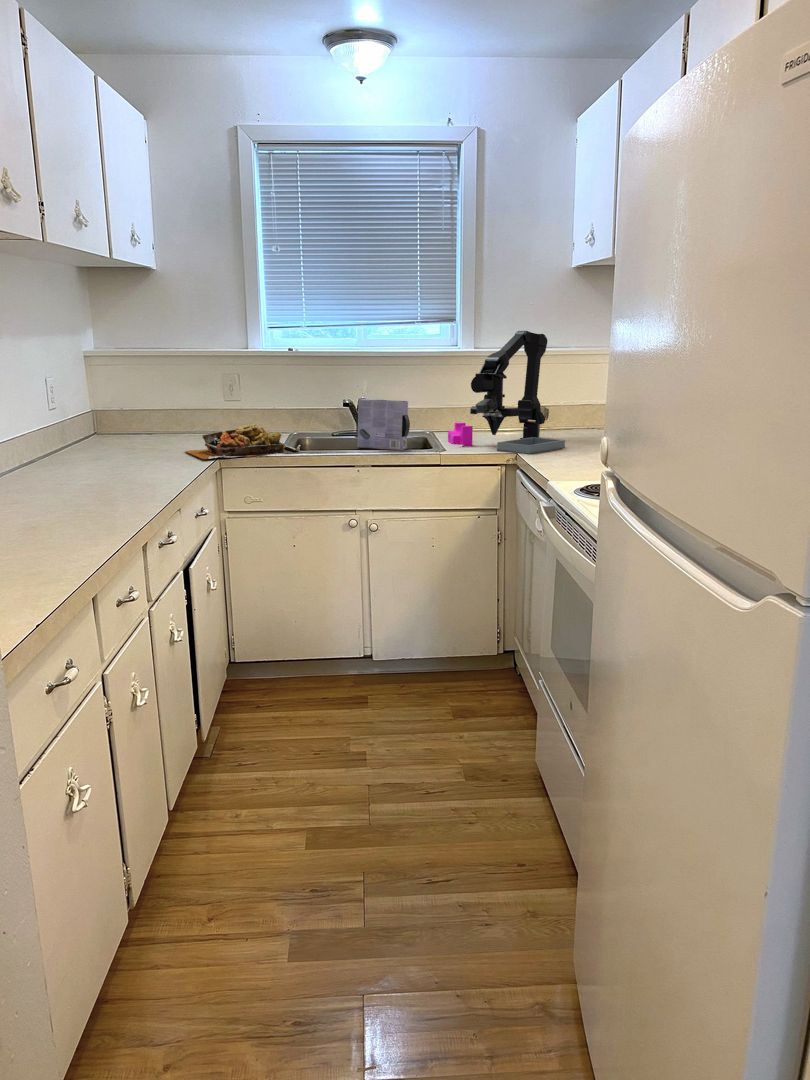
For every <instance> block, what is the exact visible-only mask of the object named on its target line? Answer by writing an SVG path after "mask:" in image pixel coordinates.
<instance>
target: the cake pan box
mask: <svg viewBox="0 0 810 1080" xmlns="http://www.w3.org/2000/svg"><path fill="white" fill-rule="evenodd" d="M357 404H358V405H357V406H358V407H357V408H358V410H357V411H358V412H357V415H358V416H357V417H358V418H357V448H360V449H361V448H362V449H374V450H391V451H393V450H394V451H404V450H407V449H408V446H407V445H408V435H409V433H410V426H411V425H410V423H411V421H410V417H409V415H408V414H409V401H408V400H394V399H393V400H392V399H375V398H372V399H371V398H358V403H357Z"/></svg>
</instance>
